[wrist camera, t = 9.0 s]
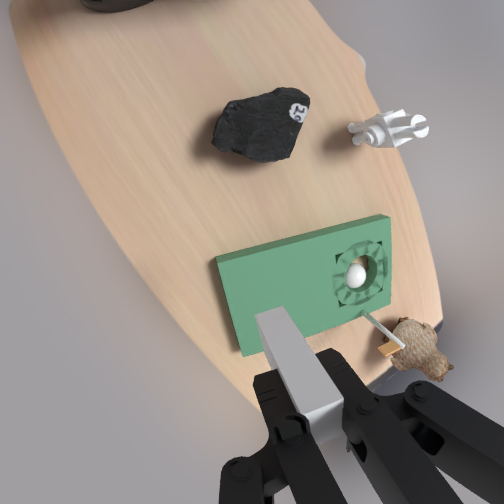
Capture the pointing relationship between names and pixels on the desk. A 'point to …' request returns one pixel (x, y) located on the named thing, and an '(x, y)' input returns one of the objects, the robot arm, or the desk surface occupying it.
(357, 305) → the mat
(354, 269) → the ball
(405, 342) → the figurine
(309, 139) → the desk surface
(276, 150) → the rock
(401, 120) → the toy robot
